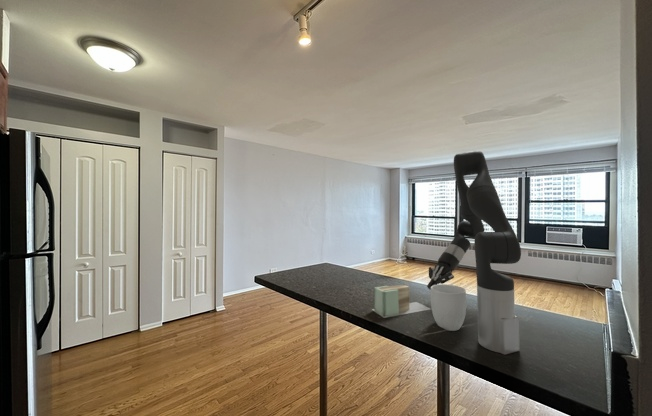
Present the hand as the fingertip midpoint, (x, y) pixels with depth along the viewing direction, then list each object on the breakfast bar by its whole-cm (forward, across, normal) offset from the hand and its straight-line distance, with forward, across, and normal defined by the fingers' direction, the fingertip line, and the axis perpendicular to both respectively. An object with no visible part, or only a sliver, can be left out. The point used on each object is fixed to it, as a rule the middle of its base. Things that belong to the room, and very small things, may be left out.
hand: (429, 288), depth 110 cm
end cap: (+20, 0, -10) cm, 22 cm away
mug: (+10, +18, 0) cm, 21 cm away
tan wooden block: (+17, 0, -8) cm, 19 cm away
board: (+15, 0, -5) cm, 16 cm away
